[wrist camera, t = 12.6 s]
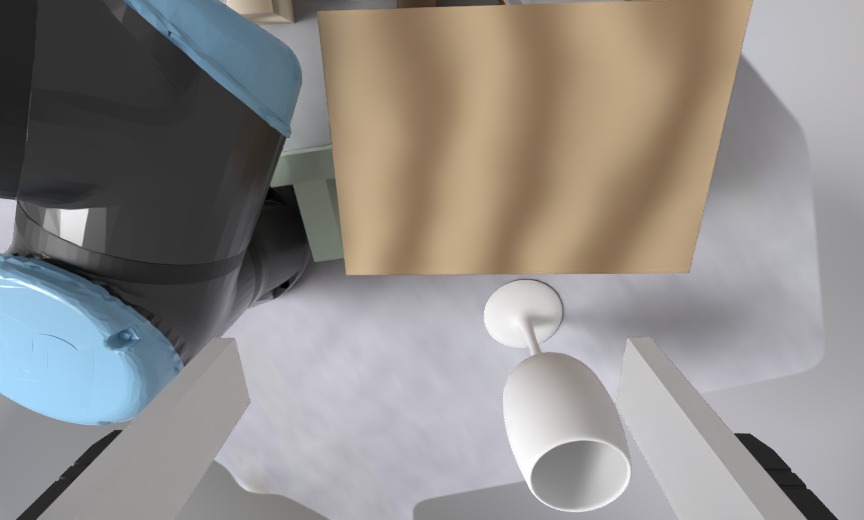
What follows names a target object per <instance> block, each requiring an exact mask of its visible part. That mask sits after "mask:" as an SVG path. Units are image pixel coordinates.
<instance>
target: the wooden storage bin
mask: <svg viewBox="0 0 864 520" xmlns="http://www.w3.org/2000/svg"><path fill="white" fill-rule="evenodd" d="M752 2H753V0H644V1H613V2H582V3H550V4H519V5H487V6H456V7H425V8H393V9H362V10H331V11H317V14H318V23H319V32H320V41H321V50H322V60H323V69H324V78H325V87H326V96H327V105H328V114H329V123H330V133H331V142H332V151H333V160H334V169H335V178H336V187H337V196H338V206H339V215H340V224H341V233H342V242H343V251H344V260H345V269H346V275H452V274H618V273H689V272H690V267H691V263H692V259H693V254H694V250H695V246H696V242H697V237H698V233H699V229H700V225H701V220H702V216H703V212H704V207H705V203H706V199H707V195H708V190H709V186H710V182H711V178H712V173H713V169H714V165H715V161H716V156H717V152H718V148H719V143H720V139H721V135H722V131H723V126H724V122H725V118H726V114H727V109H728V105H729V101H730V96H731V92H732V88H733V84H734V79H735V75H736V71H737V67H738V62H739V58H740V54H741V50H742V45H743V41H744V36H745V32H746V27H747V23H748V20H749V15H750V11H751V7H752Z"/></svg>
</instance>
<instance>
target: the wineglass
mask: <svg viewBox="0 0 864 520" xmlns="http://www.w3.org/2000/svg"><path fill="white" fill-rule="evenodd" d="M561 319H562V304H561V301H560V299H559V297H558V295H557V294H556V293H555V292H554V290H552V289H551V288H550V287H549V286H547V285H545V284H543V283H541V282H538V281H534V280H517V281H513V282H510V283H507V284H505V285H503V286H502V287H500V288H499V289H497V290H496V291H495V292H494V293H493V294H492V295H491V297H490V298H489V300H488V301H487V303H486V306H485V309H484V323H485V326H486V328H487V330H488V332H489V333H490V335H491V336H492V337H493V338H494V339H495V340H497V341H498V342H500V343H501V344H503V345H506V346H509V347H513V348H528V347H529V349H530V352H531V357H529V358H527V359H525V360H524V361H522V362H521V363H520V364H519V365H518V366H517V367H516V368H515V369H514V370H513V371H512V373H511V374H510V376H509V378H508V380H507V382H506V385H505V388H504V394H503V412H504V420H505V426H506V431H507V435H508V438H509V442H510V445H511V448H512V451H513V453H514V456H515V458H516V461H517V463H518V465H519V468H520V470H521V472H522V474H523V476H524V478H525V480H526V482H527V484H528V486H529V488H530V490H531V491H532V493H533V494H534V495H535V496H536V497H537V498H538V499H539V500H540V501H541V502H542V503H544V504H545V505H547V506H549V507H552V508H555V509H557V510H562V511H567V512H583V511H590V510H594V509H598V508H600V507H603V506H605V505H607V504H609V503H611V502H612V501H614V500H615V499H617V498H618V497H619V496H620V495H621V494H622V493H623V492H624V491H625V489H626V488H627V486H628V485H629V482H630V480H631V475H632V464H631V459H630V453H629V449H628V445H627V440H626V437H625V433H624V430H623V426H622V423H621V420H620V418H619V415H618V412H617V410H616V407H615V405H614V403H613V401H612V399H611V397H610V395H609V394H608V392H607V390H606V389H605V387H604V385H603V384H602V382H601V381H600V380H599V378H598V377H597V376H596V374H595V373H594V372H593V371H592V370H591V369H590V368H589V367H588V366H587V365H585V364H584V363H583V362H581V361H579V360H578V359H576V358H574V357H571V356H569V355H566V354H562V353H555V352H546V353H542V352H541V350H540V348H539V345H538V344H541V343H542V342H544V341H546V340H547V339H549V338H550V337H551V336H552V335H553V334H554V333H555V331H556V330H557V329H558V327H559V325H560V322H561Z"/></svg>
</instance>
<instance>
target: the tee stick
mask: <svg viewBox="0 0 864 520" xmlns="http://www.w3.org/2000/svg"><path fill="white" fill-rule="evenodd" d="M291 184H293V187H294V191H295V194H296V198H297V201H298V205H299V209H300V212H301V216H302V219H303V223H304V227H305V230H306V234H307V237H308V241H309V245H310V248H311V252H312V255H313V259H314V262H320V261H328V260H336V259H343V258H344V251H343V242H342V233H341V224H340V215H339V206H338V196H337V187H336V178H335V169H334V160H333V151H332V145H325V146H319V147H312V148H306V149H300V150H293V151H287V152H282V153H281V155H280V158H279V161H278V164H277V166H276V169H275V172H274V175H273V178H272V181H271V184H270V185H271V187H278V186H285V185H291Z"/></svg>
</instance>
